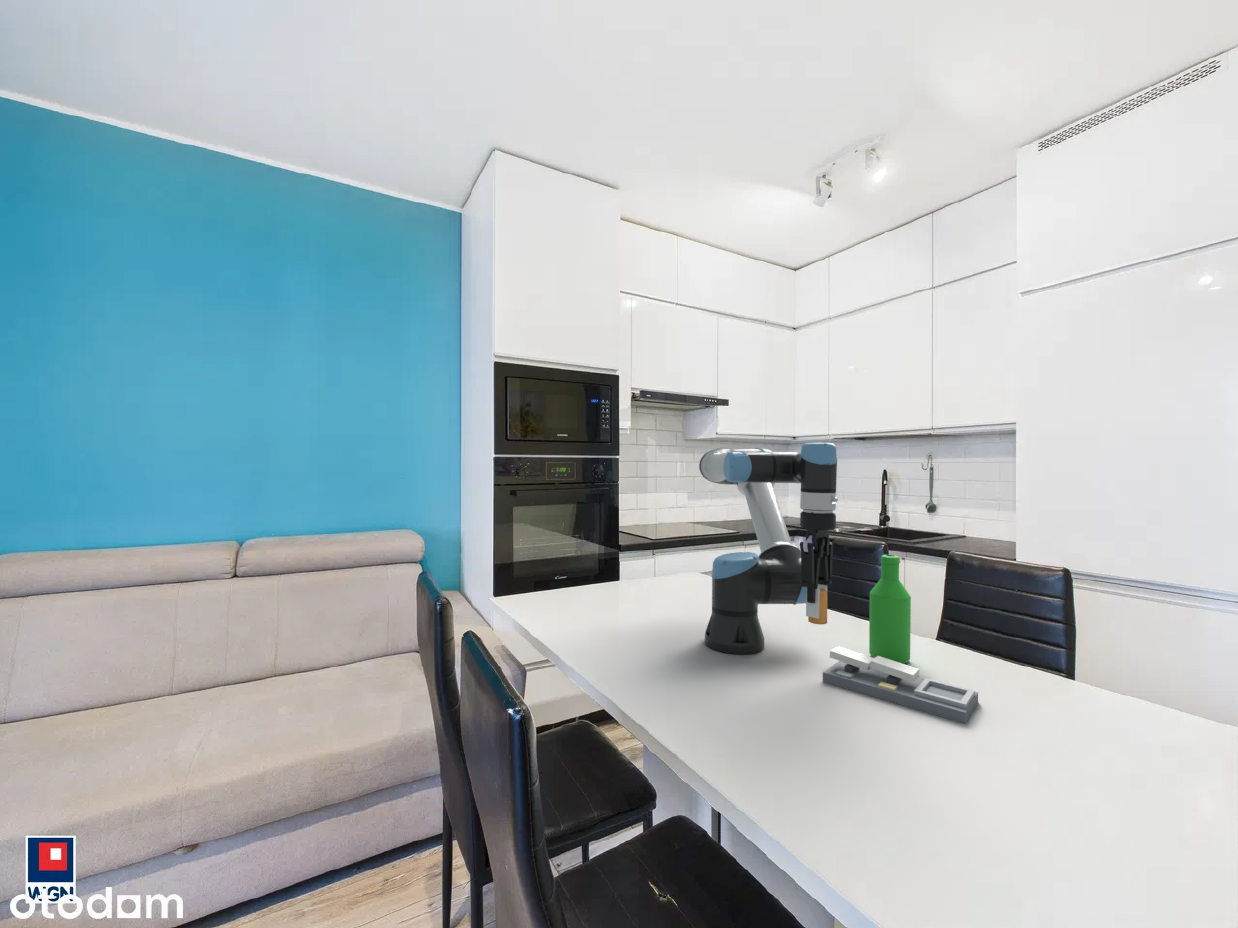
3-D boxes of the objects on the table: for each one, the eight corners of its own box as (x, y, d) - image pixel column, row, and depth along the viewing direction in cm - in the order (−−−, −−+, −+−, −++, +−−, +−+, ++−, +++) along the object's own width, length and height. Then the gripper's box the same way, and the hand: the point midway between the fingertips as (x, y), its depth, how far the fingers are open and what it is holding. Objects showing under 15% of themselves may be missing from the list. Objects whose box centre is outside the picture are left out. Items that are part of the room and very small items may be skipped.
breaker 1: (829, 657, 115) (830, 650, 115) (837, 652, 118) (838, 645, 118) (867, 670, 109) (868, 663, 109) (874, 665, 113) (875, 658, 113)
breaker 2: (870, 667, 109) (870, 660, 109) (877, 662, 112) (877, 655, 112) (912, 682, 104) (913, 675, 104) (918, 676, 107) (919, 669, 107)
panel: (822, 681, 112) (822, 666, 112) (843, 666, 121) (843, 652, 121) (965, 723, 94) (965, 705, 94) (978, 702, 103) (978, 686, 103)
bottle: (906, 668, 120) (907, 560, 120) (865, 659, 125) (866, 555, 125) (912, 657, 127) (913, 555, 127) (873, 649, 132) (874, 551, 132)
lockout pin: (805, 621, 117) (805, 590, 117) (812, 617, 120) (812, 587, 120) (822, 625, 115) (822, 593, 115) (830, 621, 117) (830, 590, 117)
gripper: (819, 514, 109) (817, 626, 109) (848, 510, 121) (847, 611, 121) (785, 512, 114) (783, 619, 114) (816, 507, 126) (815, 604, 126)
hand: (816, 614), depth 118 cm, fingers closed on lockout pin, 3 cm apart
